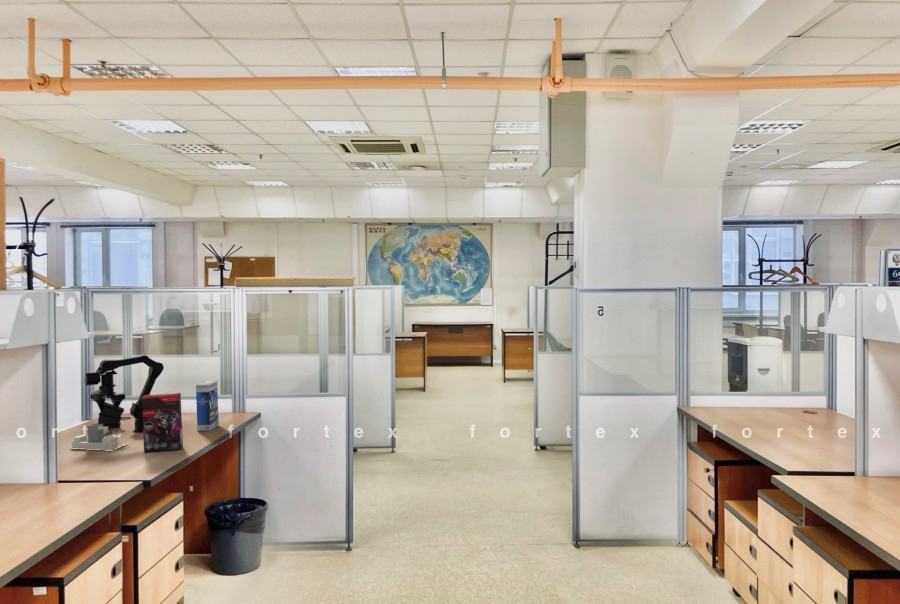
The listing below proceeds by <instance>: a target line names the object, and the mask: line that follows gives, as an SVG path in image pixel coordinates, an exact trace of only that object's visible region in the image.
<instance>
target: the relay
mask: <svg viewBox="0 0 900 604" xmlns="http://www.w3.org/2000/svg"><path fill="white" fill-rule="evenodd" d="M103 433H104V434H106V433H108V434H109V429H108V427H103ZM106 435H107V434H106Z"/></svg>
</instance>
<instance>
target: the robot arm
mask: <svg viewBox="0 0 900 604" xmlns="http://www.w3.org/2000/svg"><path fill="white" fill-rule="evenodd" d="M141 363H142V364H144V365H146V366H147V367H148V371H147V372H148V375H147V378H146V381H145V383H144V386H143V388H142V389H141V392H140V395H139V397H138V399H137V401H136V402H132V404H131V407H130V408H129V414H130V416H132V417H133V418H134V429H133V430H132V432H134V433H143V415H142V397H143V396H144V395H151V392H152V390H153V387H154V385H155V383H156V381H157V378H158V377H159V376H161V374H162V372H163V371H164V369H165V366H164V364H163V363H162V362H159V361H155V360H154V359H152V358H150V357H149V356H148V355H146V354H141V355H136V356H132V357H126V358H125V357H124V358H121V359H102V360H101V361H100V363H99V366H98V368H97V369H96V371H94V372H93V371H92V372H85V373H84V374H85V375H84V386H98V385H99V384H100V383H101V385H99V386H98V389H96V390H95V391H94V392H92V393H91V394H89V396H90V400H92V401H94V402H96V405H97V406H98V409H99V412H100V411H101V412H103V410H104V404H105V402H106V399H110V400H111V401H110V402H111V404H113V410H114V413H116V412H117V410H118V408H119V407H120V405H121V403H122V402H123V401H124V400H125V399H126V395H125V393H122V392H121V393H120V392H119V393H117V392H116V391H114V389H115V387H116V384H114V376H115V375H118V372H116V370H117V369H118V368H121V367H126V366H130V365H137V364H141Z"/></svg>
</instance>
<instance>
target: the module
mask: <svg viewBox="0 0 900 604" xmlns="http://www.w3.org/2000/svg"><path fill="white" fill-rule="evenodd" d="M103 438H105V435H104V433H103V424H97V423H91V424H89V425H87V442H96V443H102V439H103Z"/></svg>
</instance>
